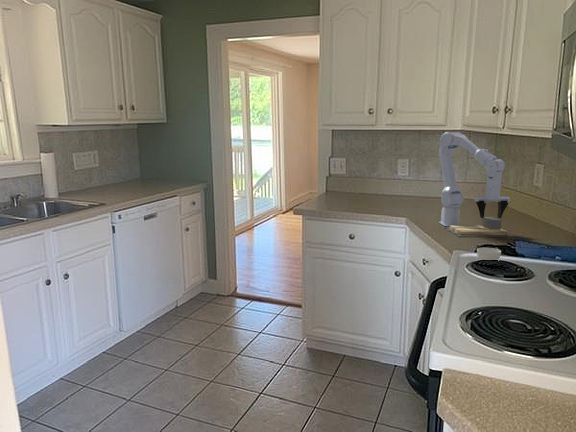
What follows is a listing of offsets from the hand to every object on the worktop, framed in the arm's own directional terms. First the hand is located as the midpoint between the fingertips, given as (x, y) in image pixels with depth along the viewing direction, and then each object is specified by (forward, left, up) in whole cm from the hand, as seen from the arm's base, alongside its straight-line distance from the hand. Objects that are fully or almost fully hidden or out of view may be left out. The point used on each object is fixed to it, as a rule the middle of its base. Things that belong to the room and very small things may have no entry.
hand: (490, 217), depth 192 cm
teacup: (+48, -22, -7) cm, 53 cm away
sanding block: (+1, 0, -5) cm, 5 cm away
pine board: (0, -5, -7) cm, 9 cm away
